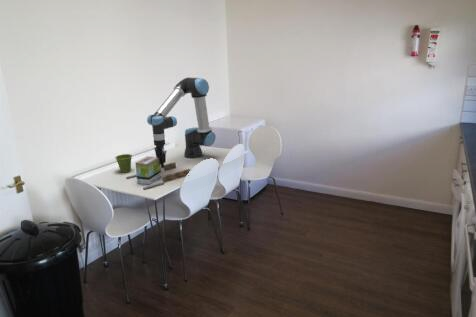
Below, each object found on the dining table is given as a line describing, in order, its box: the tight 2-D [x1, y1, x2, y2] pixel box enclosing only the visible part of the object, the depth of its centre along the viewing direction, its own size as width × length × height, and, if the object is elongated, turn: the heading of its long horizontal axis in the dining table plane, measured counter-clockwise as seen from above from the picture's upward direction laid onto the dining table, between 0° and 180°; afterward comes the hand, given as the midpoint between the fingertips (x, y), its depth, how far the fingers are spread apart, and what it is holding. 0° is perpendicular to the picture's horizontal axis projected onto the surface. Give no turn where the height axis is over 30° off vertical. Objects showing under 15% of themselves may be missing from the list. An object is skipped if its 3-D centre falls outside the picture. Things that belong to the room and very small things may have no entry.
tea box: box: [135, 156, 162, 185], centre depth 238 cm, size 15×10×15 cm, turn 163°
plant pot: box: [114, 153, 133, 173], centre depth 258 cm, size 12×12×11 cm
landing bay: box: [125, 174, 165, 191], centre depth 239 cm, size 14×28×1 cm, turn 40°
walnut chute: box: [162, 162, 191, 183], centre depth 250 cm, size 21×22×4 cm
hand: (162, 171), depth 246 cm, fingers closed
